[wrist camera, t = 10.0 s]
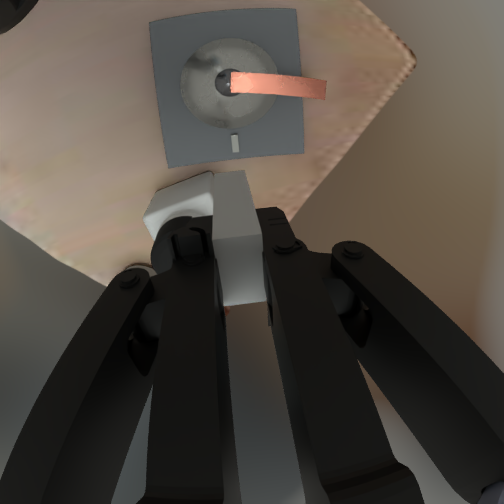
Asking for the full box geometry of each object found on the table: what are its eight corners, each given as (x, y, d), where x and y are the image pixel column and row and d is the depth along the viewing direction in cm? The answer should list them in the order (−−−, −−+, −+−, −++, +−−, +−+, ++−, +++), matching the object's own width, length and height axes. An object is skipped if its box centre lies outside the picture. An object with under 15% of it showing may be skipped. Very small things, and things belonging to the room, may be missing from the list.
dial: (182, 126, 29) (176, 134, 25) (184, 41, 24) (177, 34, 20) (306, 130, 31) (320, 138, 27) (313, 48, 25) (329, 43, 21)
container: (178, 240, 39) (166, 306, 28) (154, 191, 35) (127, 245, 24) (232, 222, 38) (238, 284, 27) (211, 169, 34) (208, 215, 23)
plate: (152, 24, 23) (147, 21, 21) (292, 11, 24) (297, 7, 22) (170, 164, 33) (167, 170, 31) (300, 150, 34) (305, 155, 32)
